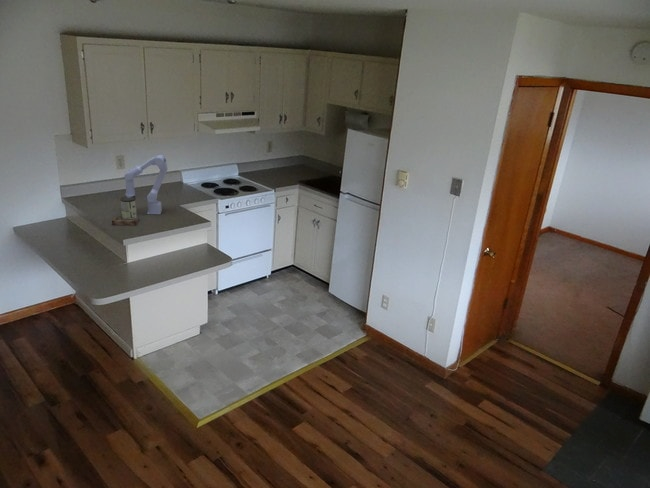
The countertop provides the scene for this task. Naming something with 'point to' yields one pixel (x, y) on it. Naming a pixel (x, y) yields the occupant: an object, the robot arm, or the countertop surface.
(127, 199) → the coffee can
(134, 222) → the can dock
